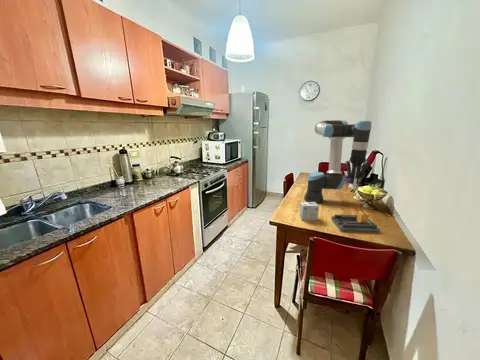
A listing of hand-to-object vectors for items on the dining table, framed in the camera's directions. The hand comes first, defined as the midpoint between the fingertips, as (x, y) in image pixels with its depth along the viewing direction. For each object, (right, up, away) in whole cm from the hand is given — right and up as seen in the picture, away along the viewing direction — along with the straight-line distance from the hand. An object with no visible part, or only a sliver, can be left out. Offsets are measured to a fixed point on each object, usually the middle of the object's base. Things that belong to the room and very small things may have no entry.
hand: (352, 188), depth 120 cm
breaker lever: (+8, -21, +5) cm, 23 cm away
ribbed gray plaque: (+5, -21, +6) cm, 22 cm away
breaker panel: (+4, -23, +6) cm, 25 cm away
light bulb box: (-21, -21, +16) cm, 34 cm away
